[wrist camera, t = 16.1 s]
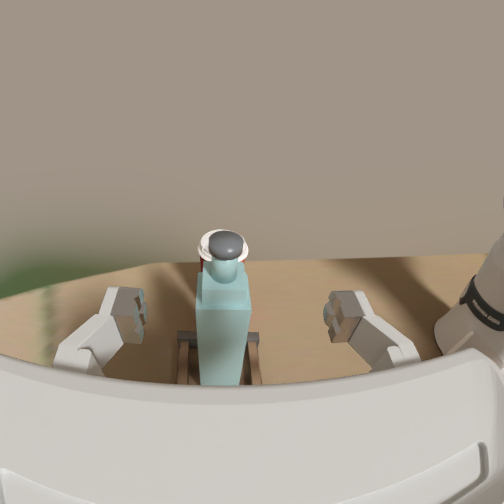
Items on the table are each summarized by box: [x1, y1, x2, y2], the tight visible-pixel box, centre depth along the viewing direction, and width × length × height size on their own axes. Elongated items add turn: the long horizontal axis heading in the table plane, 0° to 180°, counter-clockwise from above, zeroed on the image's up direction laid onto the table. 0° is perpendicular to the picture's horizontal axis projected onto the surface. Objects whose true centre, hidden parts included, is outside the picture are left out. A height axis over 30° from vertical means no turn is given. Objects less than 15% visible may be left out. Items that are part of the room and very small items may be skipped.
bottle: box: [196, 231, 252, 385], centre depth 32 cm, size 5×5×24 cm
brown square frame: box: [176, 331, 262, 385], centre depth 38 cm, size 12×12×3 cm
